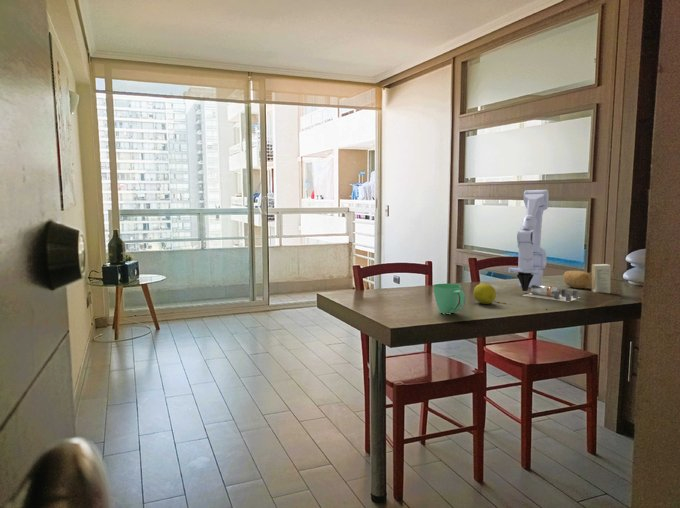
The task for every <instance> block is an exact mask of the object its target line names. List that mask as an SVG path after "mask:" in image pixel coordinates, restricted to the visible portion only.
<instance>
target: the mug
mask: <svg viewBox="0 0 680 508" xmlns="http://www.w3.org/2000/svg"><path fill="white" fill-rule="evenodd" d="M432 287H433V294H434V299H435V302H436V306H437V308H438V311H439V313H440V312H441V313H457V312H459V311H461V309H462V308H463V306H464V305H465V304H466V303H465V302H466V295H465V292H464V291H463V290H462V286H461V285H460V284H456V283H437V284H436V283H435V284H433V286H432ZM441 313H440V314H441Z"/></svg>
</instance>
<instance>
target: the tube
mask: <svg viewBox="0 0 680 508" xmlns="http://www.w3.org/2000/svg"><path fill="white" fill-rule="evenodd" d="M555 291H560V289H559V287H558V286H552V285H550V286H549V285H542V286H541V285H532V286H531V288H530V293H531V294H535V295H543V296H550V297H554V292H555Z"/></svg>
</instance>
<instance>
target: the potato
mask: <svg viewBox="0 0 680 508" xmlns="http://www.w3.org/2000/svg"><path fill="white" fill-rule="evenodd" d="M562 280H563V282H564V283H565V285H566V286H568V287H571V288H573V289H574V290H578V289H585V288H587V287H588V286H590V284H591V283H592V274H590V273H588V272H586V271H583V270H568V271H567V270H566V271H565V272H564V273H563V276H562Z"/></svg>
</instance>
